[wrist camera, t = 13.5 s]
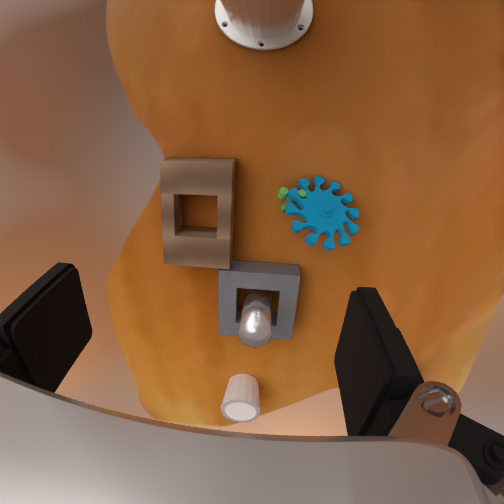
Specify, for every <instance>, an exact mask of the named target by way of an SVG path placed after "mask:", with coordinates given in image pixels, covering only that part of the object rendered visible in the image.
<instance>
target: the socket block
mask: <svg viewBox="0 0 504 504" xmlns="http://www.w3.org/2000/svg"><path fill="white" fill-rule="evenodd" d="M299 283H300V270H299V265H294V264H280V263H265V262H251V261H237V260H232V262H231V265H230V269H219V335H229V336H239V329H240V322H241V316H242V310H238V289H239V288H246V289H260V290H274V291H278V300H277V310H276V313H273V312H271V338H270V339H283V340H291V338H292V331H293V325H294V318H295V311H296V305H297V298H298V290H299Z"/></svg>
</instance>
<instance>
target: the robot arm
mask: <svg viewBox="0 0 504 504" xmlns="http://www.w3.org/2000/svg"><path fill="white" fill-rule="evenodd" d="M214 11H215V18H216V22H217V24H218V26H219V28H220V29H221V31H222V32H223V33H224V35H226V36H227V37H228V38H229V39H230V40H231V41H233V42H234V43H236V44H238V45H240V46H242V47H245V48H248V49H252V50H259V51H269V50H277V49H281V48H284V47H287V46H289V45H291V44H293V43H294V42H296V41H298V40H299V39H300V38H301V37H302V36H303V35H304V34H305V33H306V31H307V30H308V28H309V26H310V24H311V22H312V18H313V3H312V0H216V2H215V7H214ZM224 25H228V26H227V27H224ZM299 28H302V31H300V30H299ZM260 44H264V46H262V47H261V46H260ZM91 336H92V327H91V324H90V320H89V316H88V312H87V308H86V304H85V300H84V295H83V291H82V287H81V282H80V277H79V272H78V270H77V269H76V268H75V267H74V265H73V264H69V263H60V262H59V263H57V264H56V265H54V266H53V267H52V268H51V269H50V270H48V271H47V272H46V273H45V274H44V275H43V276H41V277H40V278H39V279H38V280H37V281H36V282H35V283H33V284H32V285H31V286H30V287H29V288H28V289H27V290H25V292H23V293H22V294H21V295H20V296H19V297H18V298H17V299H15V300H14V301H13V302H12V303H11V304H10V305H9V306H8V307H7V308H6V309H5V310H4V311H3V312H2V313H1V314H0V504H504V436H503V435H501V434H499V433H497V432H495V431H493V430H491V429H489V428H487V427H485V426H484V425H482V424H480V423H478V422H476V421H474V420H472V419H470V418H468V417H466V416H464V415H462V414H460V412H461V406H462V405H461V401H460V398H459V396H458V394H457V393H456V392H455V391H454V390H453V389H452V388H451V387H449V386H448V385H446V384H444V383H440V382H435V381H429V382H424V380H423V378H422V376H421V373H420V371H419V369H418V367H417V365H416V363H415V361H414V358H413V356H412V354H411V352H410V350H409V348H408V346H407V344H406V342H405V340H404V338H403V336H402V334H401V332H400V330H399V329H398V328H396V326H395V324H394V322H393V320H392V318H391V316H390V314H389V312H388V310H387V308H386V307H385V305H384V303H383V301H382V299H381V297H380V295H379V293H378V291H377V290H376V288H371V287H358V288H357V290H356V291H352V292H351V294H350V297H349V302H348V306H347V310H346V314H345V318H344V322H343V326H342V330H341V334H340V338H339V342H338V345H337V349H336V353H335V358H334V364H335V369H336V374H337V379H338V384H339V389H340V394H341V400H342V405H343V411H344V416H345V422H346V428H347V432H348V436H287V435H267V434H252V433H239V432H230V431H221V430H212V429H204V428H198V427H190V426H184V425H178V424H173V423H167V422H162V421H156V420H151V419H147V418H141V417H137V416H133V415H129V414H124V413H120V412H116V411H112V410H108V409H104V408H101V407H97V406H94V405H90V404H87V403H84V402H80V401H77V400H74V399H71V398H67V397H65V396H62V395H59V394H56V393H55V391H56V390H57V388H58V386H59V385H60V383H61V382H62V380H63V379H64V377H65V376H66V374H67V372H68V371H69V370H70V368H71V367H72V365H73V364H74V362H75V361H76V359H77V358H78V356H79V355H80V353H81V352H82V350H83V349H84V347H85V346H86V345H87V343H88V342H89V340H90V339H91Z"/></svg>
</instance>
